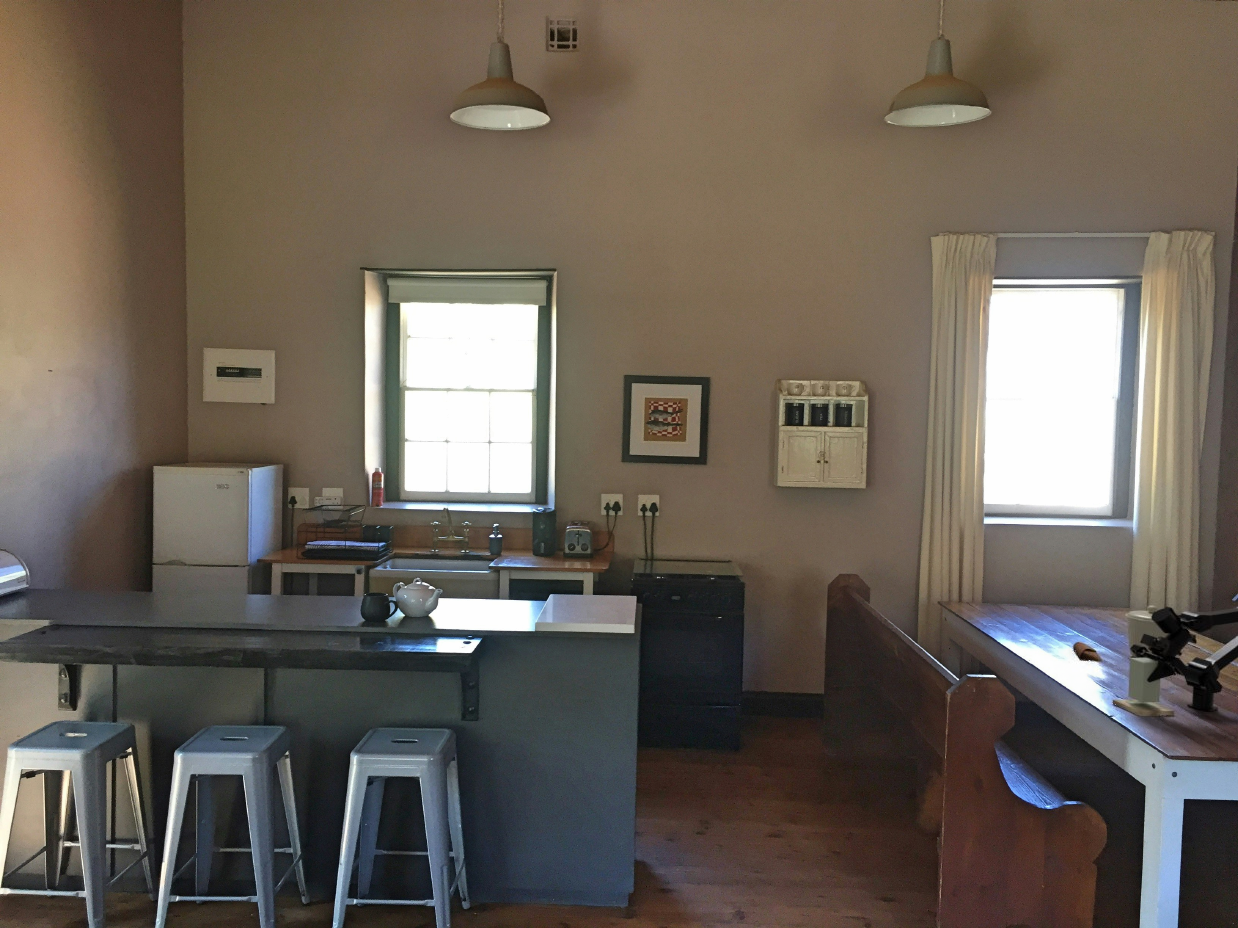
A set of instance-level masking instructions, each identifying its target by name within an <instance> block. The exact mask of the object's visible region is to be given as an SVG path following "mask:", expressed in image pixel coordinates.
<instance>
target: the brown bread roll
mask: <svg viewBox="0 0 1238 928" xmlns="http://www.w3.org/2000/svg"><path fill="white" fill-rule="evenodd" d="M1072 649H1073V650H1074V651H1075V652H1076V654H1077V656H1078V658H1079V659H1080V660H1082V661H1088V660H1090V662H1102V663H1103V659H1102V658H1101V656H1100V655H1099V653H1098V651H1097V650H1096V649H1095V648H1094V647H1092V646H1090V645H1088V644H1086V643H1084V642H1081V641H1076V642H1075V643H1074V644H1073V647H1072Z"/></svg>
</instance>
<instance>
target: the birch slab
mask: <svg viewBox="0 0 1238 928" xmlns="http://www.w3.org/2000/svg"><path fill="white" fill-rule="evenodd" d="M1111 702H1112V703H1113V704H1116V705H1117V706H1116V707H1118V706H1120V707H1122V708H1124V709H1126V710H1125V711H1127V710H1128V711H1127V712H1129V711H1130V712H1129V713H1131V712H1132V713H1131V714H1133V713H1134V715H1136V716H1138V715H1139V716H1138V717H1158V716H1159V715H1160V716H1159V717H1164V716H1166V715H1171V716H1175V710H1174V709H1171V708H1169V707H1166V706H1164V705H1161V704H1159V703H1158V702H1144V703H1142V702H1140V701H1137V700H1135V699H1132V698H1130V699H1129V698H1127V699H1125V698H1124V699H1123V698H1122V699H1112V701H1111ZM1113 704H1112V705H1113ZM1120 707H1119V708H1120ZM1122 708H1121V709H1122ZM1124 709H1123V710H1124ZM1162 715H1163V716H1162ZM1166 717H1167V716H1166Z"/></svg>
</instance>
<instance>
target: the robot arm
mask: <svg viewBox="0 0 1238 928" xmlns="http://www.w3.org/2000/svg"><path fill="white" fill-rule="evenodd" d="M1180 613H1181V614H1177V613H1176V612H1175V610H1174V608H1172V606H1165V607H1164V608H1161V609H1158V610H1157V611H1156V612H1154V613H1153V614H1152V616H1151V618H1152V620H1153V621H1154V623H1155V624H1156V625H1157V626H1158V627H1159V628H1160V629H1161V631H1162V632H1163V633H1168V634H1167V635H1166V637H1165V638H1164V637H1161V636H1159V637H1158V638H1156V637H1153V636H1150V635H1147V634H1143V636H1142V639H1141V641H1140V643H1142V644H1145V645H1147V646H1149V647H1148V649H1149V650H1150V651H1152V652H1151V653H1150V652H1149V651H1148V650H1147V649H1146V648H1145V647H1144V646H1141V645H1138V644H1134V645H1133V646H1132V647H1131V648H1130V649H1129V651H1130V650H1131V651H1132V652H1133V653H1134V654H1135V656H1136V657H1137V658H1149V659H1152V660H1155V661H1158V666H1157V668H1156V669H1155V670H1154V671H1153V672H1152V674H1151V675H1150V676H1149V678H1148V679H1147V681H1148V682H1153V681H1156V680H1159V679H1160V680H1161V679H1165V678H1168V677H1171V676H1176V675H1179V676H1181V677H1184V680H1185V682H1186V686H1190V687H1192V697H1191V698H1192V700H1191V702H1192V703H1188V704H1187V705H1186V707H1189V708H1192V709H1193V708H1194V709H1196V710H1201V711H1204V712H1212V711H1216V710H1219V707H1217V706H1216V705H1215V706H1214V701H1215V694H1218V693H1222V690H1223V685H1222V684H1221V682H1219V681H1218V679H1219V678H1220V673H1221V671H1222V670H1223V669H1225V668H1226V667H1227V666H1228V665H1230V664H1231V663H1233V662H1235V661H1236V660H1237V659H1238V635H1237V636H1235V637H1234V638H1233V639H1231V640H1229V642H1228V643H1226V644H1225V645H1224V646H1222V647H1220V648H1219V649H1218V650H1217V651H1216V652H1213V653H1212V654H1211V655H1209V656H1208V657H1207V658H1205V659H1204V658H1202V657H1198V656H1196V657H1194V658H1193V659H1192V660H1191V661H1190V662H1187V663H1186V664H1185V663H1184V662H1183V660H1182V659H1181V658H1180V657H1181V656H1182V655H1183V653H1182V650H1183V649H1184V648H1185V646H1187V645H1188V643H1191V644H1195V645H1196V644H1197V643H1198V642H1197V641H1198V640H1197V638H1196V637H1197V635H1196V634H1194V633H1191V632H1190V631H1192V632H1196V633H1198V634H1199V633H1204V632H1207V631H1210V630H1211V629H1212V628H1213V627H1216V626H1220V625H1222V626H1223V625H1228V624H1234V623H1238V606H1236V607H1233V608H1226V609H1220V610H1219V609H1218V610H1215V611H1213V610H1212V611H1207V612H1206V611H1205V612H1203V611H1195V610H1193V611H1191V610H1185V611H1182V612H1180ZM1177 656H1180V657H1177Z"/></svg>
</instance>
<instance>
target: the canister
mask: <svg viewBox="0 0 1238 928" xmlns="http://www.w3.org/2000/svg"><path fill="white" fill-rule="evenodd" d="M1158 610H1159V609H1158V607H1157V606H1156V605H1148V606H1147V608H1146V610H1132V611H1129V612H1127V613H1125V614H1124V615H1125V618H1126V623H1127V624H1126V625H1127V635H1128V637H1127V638H1128V648H1129V652H1130V655H1131V657H1132V658H1137V657H1136V656H1135V654H1134V653H1133V652H1132V651H1131V650H1130V648H1131V647H1132V646H1133V645H1134V644H1138V645H1141V646H1144V647H1145V648H1146V649H1147V650H1148V651H1149V652H1150V653H1151V652H1152V651H1150V650H1149V649H1148V647H1149V646H1147V645H1145V644H1142V643H1140V641H1141V639H1142V636H1143V634H1147V635H1150V636H1153V637H1156V638H1158V637H1159V636H1161V637H1164V638H1165V637H1166V635H1167V634H1168V633H1163V632H1162V631H1161V629H1160V628H1159V627H1158V626H1157V625H1156V624H1155V623H1154V621H1153V620H1152V618H1151V616H1152V614H1153V613H1154V612H1156V611H1158Z"/></svg>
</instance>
